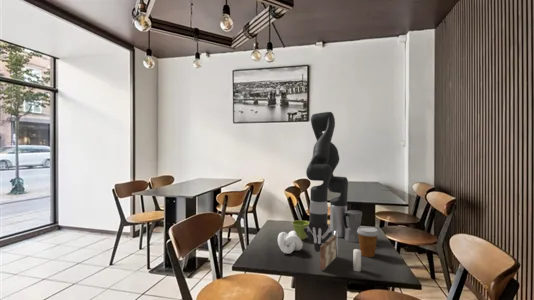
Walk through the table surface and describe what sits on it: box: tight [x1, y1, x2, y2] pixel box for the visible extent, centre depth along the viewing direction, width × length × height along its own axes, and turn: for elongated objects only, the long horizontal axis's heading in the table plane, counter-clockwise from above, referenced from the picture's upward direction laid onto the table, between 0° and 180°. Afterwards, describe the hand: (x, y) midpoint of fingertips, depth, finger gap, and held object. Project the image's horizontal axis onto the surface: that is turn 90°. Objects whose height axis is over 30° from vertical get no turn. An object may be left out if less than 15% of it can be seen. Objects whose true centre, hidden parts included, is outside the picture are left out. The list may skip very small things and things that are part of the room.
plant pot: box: [291, 220, 310, 241], centre depth 159 cm, size 9×9×9 cm
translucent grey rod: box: [334, 231, 339, 259], centre depth 132 cm, size 2×2×12 cm
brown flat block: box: [319, 235, 337, 271], centre depth 125 cm, size 16×2×10 cm, turn 148°
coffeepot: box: [343, 206, 363, 243], centre depth 156 cm, size 15×9×18 cm, turn 129°
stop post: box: [352, 248, 362, 272], centre depth 119 cm, size 3×3×8 cm
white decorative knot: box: [277, 230, 304, 254], centre depth 140 cm, size 11×12×9 cm
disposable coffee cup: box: [357, 226, 379, 258], centre depth 136 cm, size 10×10×12 cm
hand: (317, 251), depth 124 cm, fingers closed
